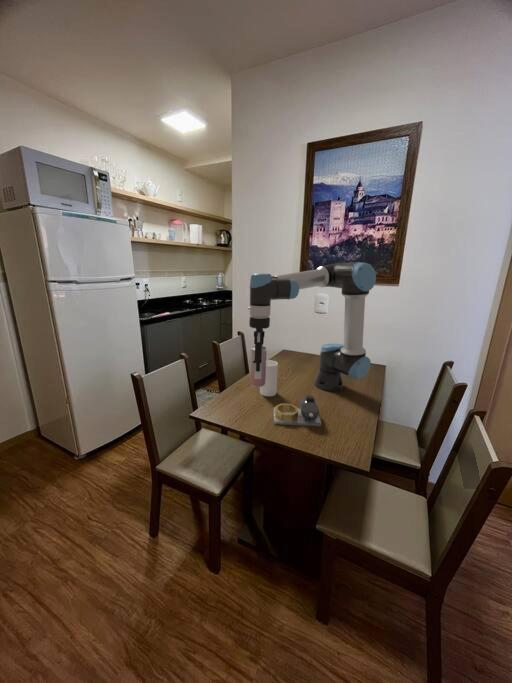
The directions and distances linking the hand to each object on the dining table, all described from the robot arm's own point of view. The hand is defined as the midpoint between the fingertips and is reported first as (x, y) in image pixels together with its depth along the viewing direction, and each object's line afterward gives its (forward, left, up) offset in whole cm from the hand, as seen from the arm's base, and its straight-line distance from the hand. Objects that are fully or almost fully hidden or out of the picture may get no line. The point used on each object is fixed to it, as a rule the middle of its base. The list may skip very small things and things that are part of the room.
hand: (258, 375), depth 108 cm
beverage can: (0, 0, -4) cm, 4 cm away
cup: (-5, -28, -21) cm, 35 cm away
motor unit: (-17, -5, -21) cm, 27 cm away
